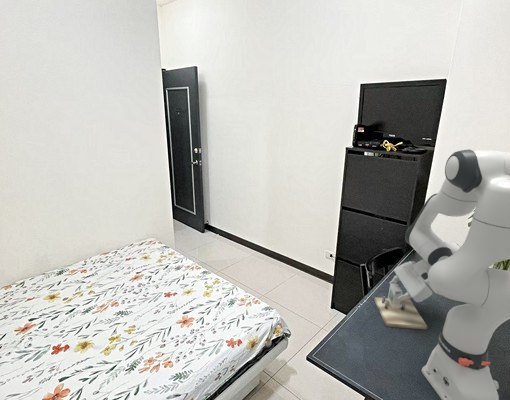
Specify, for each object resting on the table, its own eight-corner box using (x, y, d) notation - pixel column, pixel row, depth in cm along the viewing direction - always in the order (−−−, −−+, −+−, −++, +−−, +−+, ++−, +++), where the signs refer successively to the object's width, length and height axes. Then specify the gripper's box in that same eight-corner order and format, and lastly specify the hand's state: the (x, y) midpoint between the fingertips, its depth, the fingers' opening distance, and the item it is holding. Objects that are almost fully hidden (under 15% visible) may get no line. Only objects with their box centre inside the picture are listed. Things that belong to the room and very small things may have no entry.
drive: (399, 310, 119) (402, 291, 116) (391, 309, 119) (395, 291, 116) (394, 301, 124) (397, 283, 121) (386, 301, 124) (390, 283, 122)
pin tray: (426, 329, 111) (429, 320, 110) (386, 326, 112) (388, 316, 111) (409, 302, 126) (411, 293, 125) (374, 300, 127) (375, 291, 126)
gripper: (408, 254, 125) (381, 272, 129) (431, 282, 106) (399, 302, 110) (417, 264, 126) (390, 282, 130) (441, 293, 107) (409, 312, 111)
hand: (394, 291), depth 120 cm, fingers open, 8 cm apart
